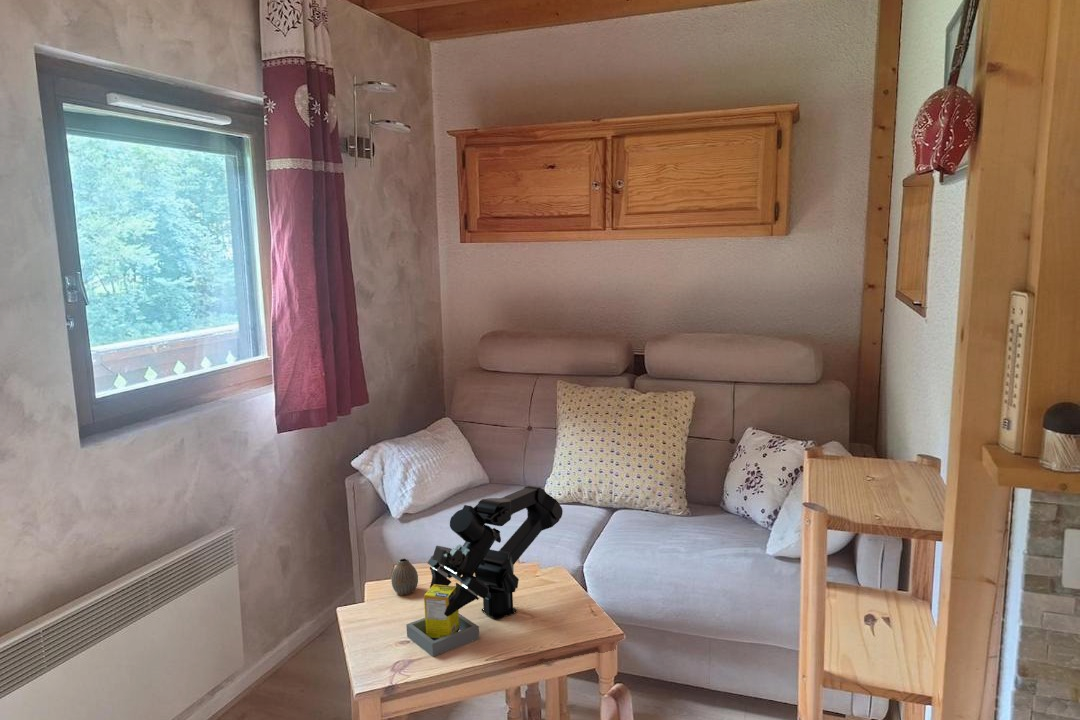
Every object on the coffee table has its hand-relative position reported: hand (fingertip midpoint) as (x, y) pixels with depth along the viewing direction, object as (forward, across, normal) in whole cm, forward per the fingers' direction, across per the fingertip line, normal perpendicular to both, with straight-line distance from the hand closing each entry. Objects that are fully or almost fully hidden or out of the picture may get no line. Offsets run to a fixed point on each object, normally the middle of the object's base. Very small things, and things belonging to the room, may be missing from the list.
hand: (436, 608), depth 169 cm
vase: (+1, -28, +10) cm, 30 cm away
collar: (+4, 0, +6) cm, 7 cm away
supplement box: (+4, 0, +6) cm, 7 cm away
